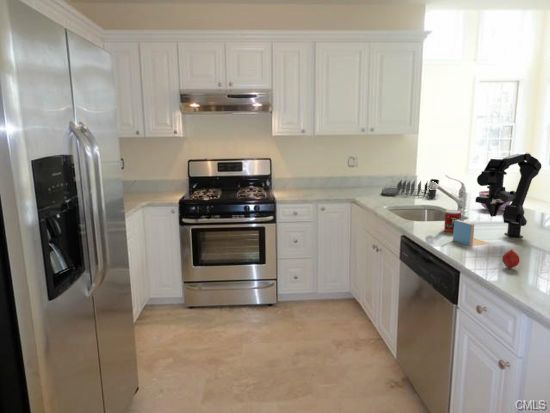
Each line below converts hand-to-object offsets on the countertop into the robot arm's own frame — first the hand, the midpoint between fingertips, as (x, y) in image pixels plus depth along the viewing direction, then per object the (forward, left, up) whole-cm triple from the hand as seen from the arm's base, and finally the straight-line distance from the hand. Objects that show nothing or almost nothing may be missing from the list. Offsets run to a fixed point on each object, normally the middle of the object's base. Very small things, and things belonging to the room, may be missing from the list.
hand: (493, 216), depth 189 cm
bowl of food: (-77, +28, -12) cm, 83 cm away
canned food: (-16, -14, -12) cm, 25 cm away
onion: (+41, -7, -12) cm, 43 cm away
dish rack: (-138, -17, -12) cm, 140 cm away
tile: (+7, -15, -12) cm, 20 cm away
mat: (+4, -11, -12) cm, 17 cm away
